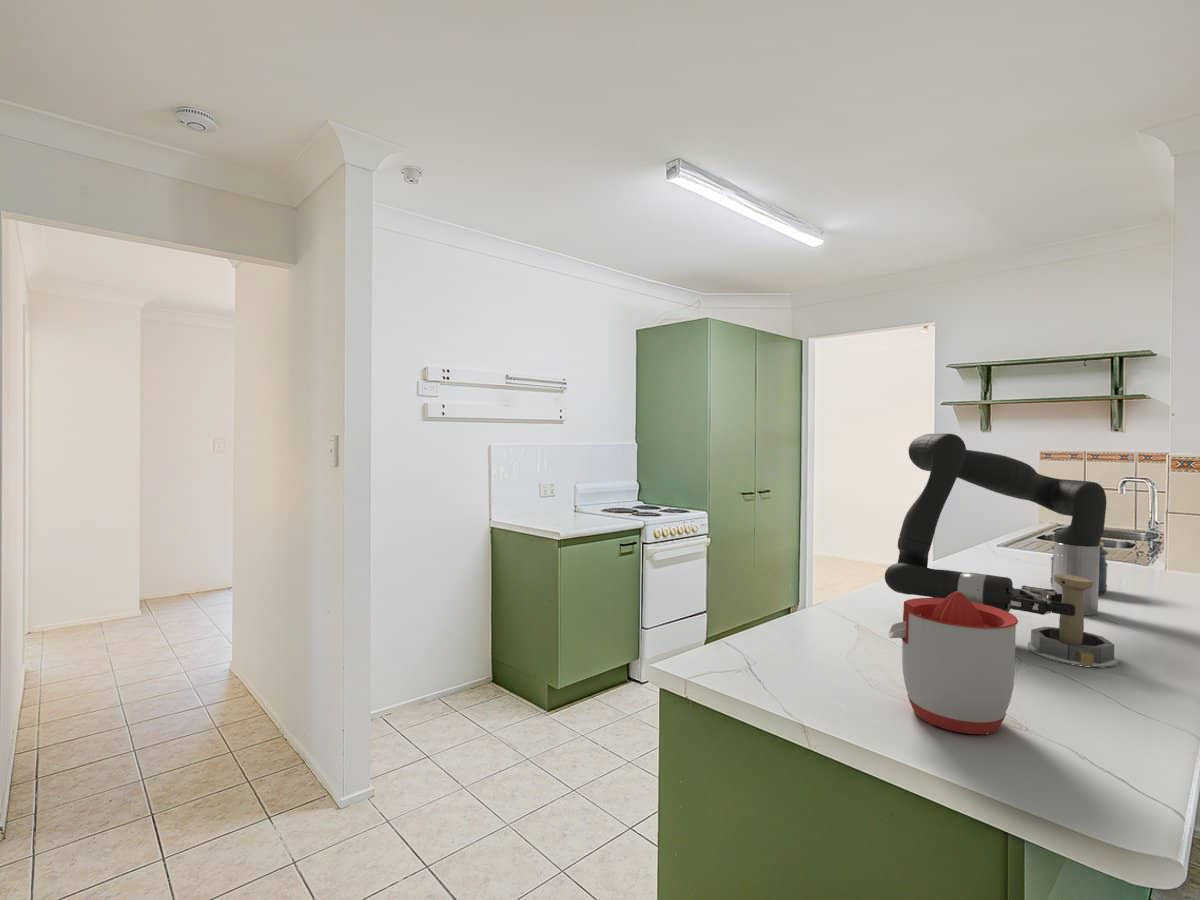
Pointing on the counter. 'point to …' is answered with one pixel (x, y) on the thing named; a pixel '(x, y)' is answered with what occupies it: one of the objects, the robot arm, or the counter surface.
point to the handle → (1073, 594)
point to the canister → (1102, 569)
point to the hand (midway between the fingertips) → (1077, 606)
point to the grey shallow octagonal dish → (1072, 648)
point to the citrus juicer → (957, 662)
